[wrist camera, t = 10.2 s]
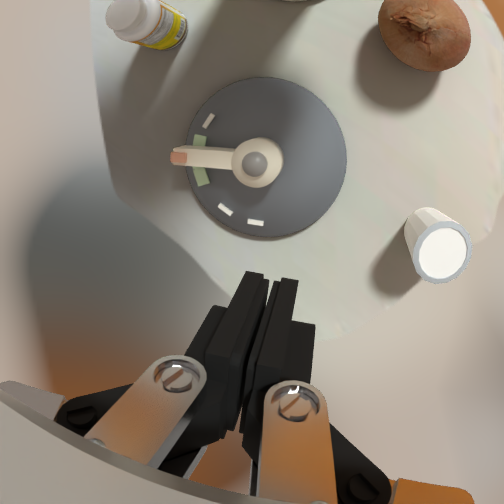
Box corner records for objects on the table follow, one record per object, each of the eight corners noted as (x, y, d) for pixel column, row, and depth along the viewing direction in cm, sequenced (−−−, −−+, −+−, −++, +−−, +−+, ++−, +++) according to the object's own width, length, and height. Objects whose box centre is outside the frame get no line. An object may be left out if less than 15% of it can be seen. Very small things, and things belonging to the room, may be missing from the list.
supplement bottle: (143, 25, 31) (93, 8, 22) (180, 3, 29) (137, -24, 20) (156, 59, 32) (106, 48, 23) (196, 37, 31) (154, 16, 21)
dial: (194, 75, 32) (189, 74, 31) (355, 90, 30) (357, 89, 28) (186, 221, 40) (181, 224, 39) (331, 245, 37) (331, 250, 36)
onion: (386, 59, 30) (364, 61, 24) (389, -13, 24) (366, -32, 18) (464, 80, 26) (467, 87, 19) (470, 5, 20) (475, -12, 13)
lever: (286, 139, 32) (281, 142, 29) (281, 183, 34) (276, 191, 31) (186, 131, 34) (170, 134, 30) (184, 172, 36) (169, 180, 32)
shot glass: (393, 253, 36) (405, 281, 30) (404, 197, 33) (420, 216, 27) (443, 259, 35) (462, 287, 29) (455, 206, 32) (479, 226, 26)
